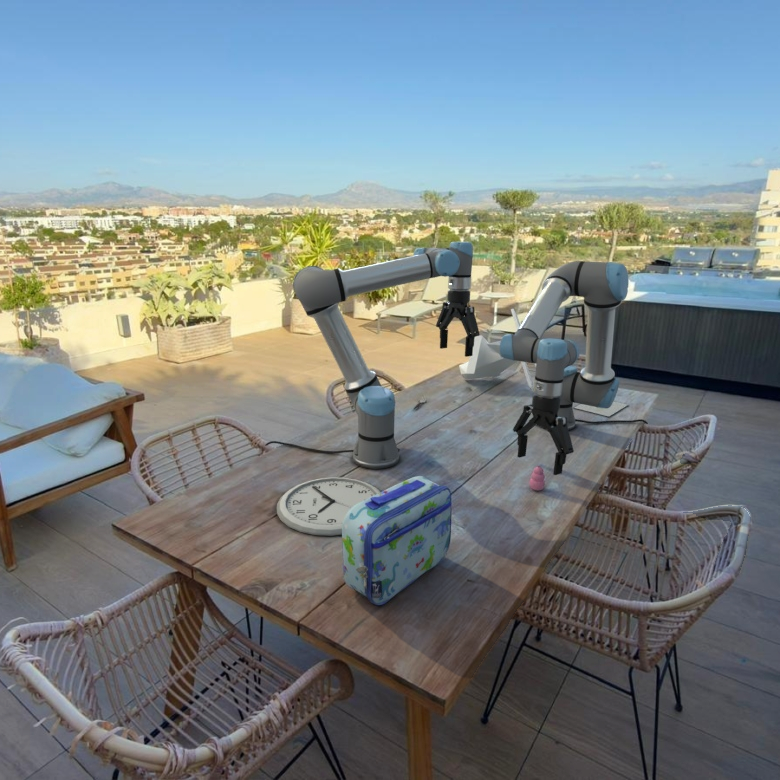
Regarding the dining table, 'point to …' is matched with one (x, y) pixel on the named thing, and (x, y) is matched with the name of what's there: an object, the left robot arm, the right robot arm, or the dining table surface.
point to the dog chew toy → (537, 479)
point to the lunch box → (395, 537)
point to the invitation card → (603, 411)
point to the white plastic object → (490, 359)
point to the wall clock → (322, 504)
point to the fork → (421, 401)
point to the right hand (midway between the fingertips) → (538, 464)
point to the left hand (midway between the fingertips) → (455, 352)
